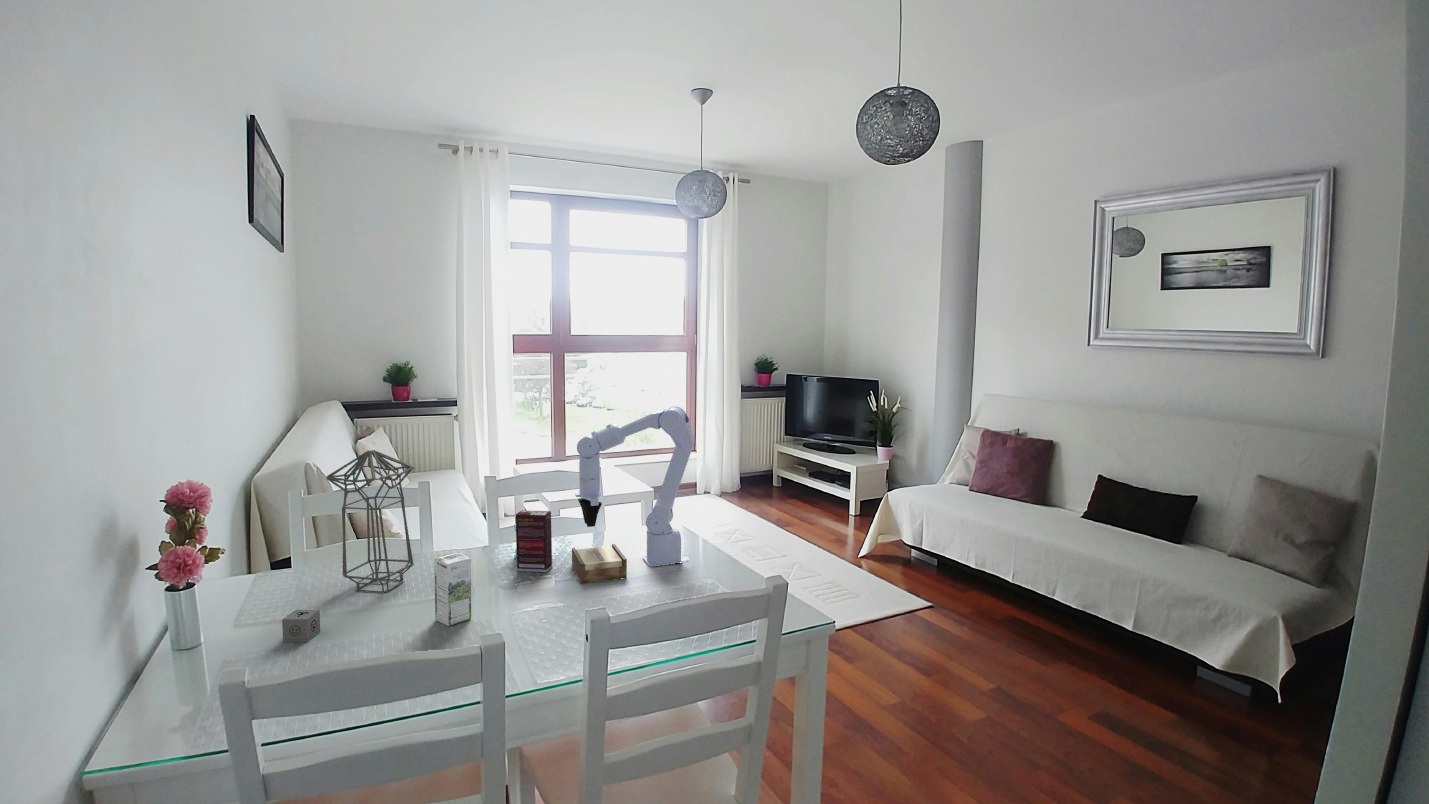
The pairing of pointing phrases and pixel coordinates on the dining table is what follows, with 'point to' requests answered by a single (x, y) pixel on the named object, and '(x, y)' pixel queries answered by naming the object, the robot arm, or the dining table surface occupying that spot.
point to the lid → (599, 558)
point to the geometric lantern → (386, 464)
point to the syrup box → (452, 589)
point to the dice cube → (301, 625)
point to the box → (598, 573)
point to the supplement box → (533, 541)
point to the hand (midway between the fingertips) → (589, 524)
